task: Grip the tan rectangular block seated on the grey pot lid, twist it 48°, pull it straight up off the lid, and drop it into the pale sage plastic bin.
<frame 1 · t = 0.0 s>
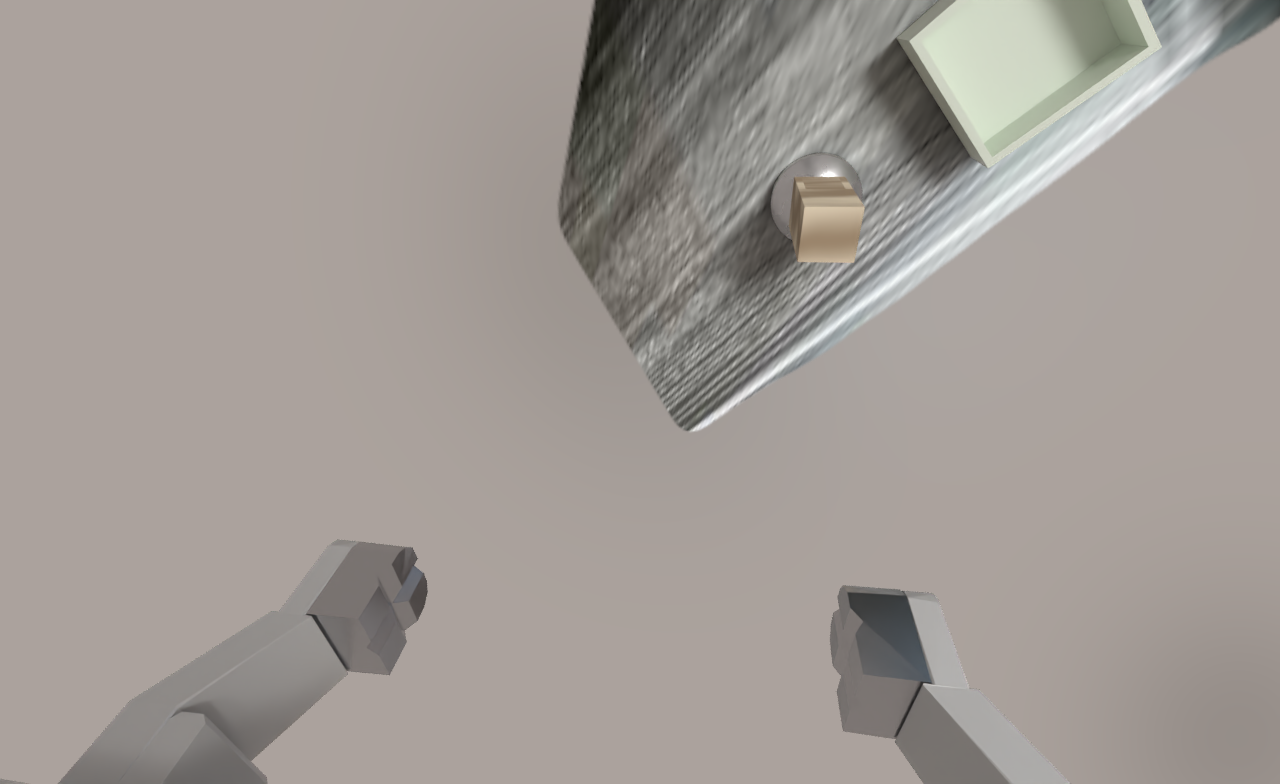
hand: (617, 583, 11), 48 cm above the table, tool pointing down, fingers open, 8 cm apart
grey pot lid: (814, 198, 52), on the table
tan rectangular block: (816, 201, 51), point 1 cm above the table, touching grey pot lid
bin: (1010, 40, 43), on the table
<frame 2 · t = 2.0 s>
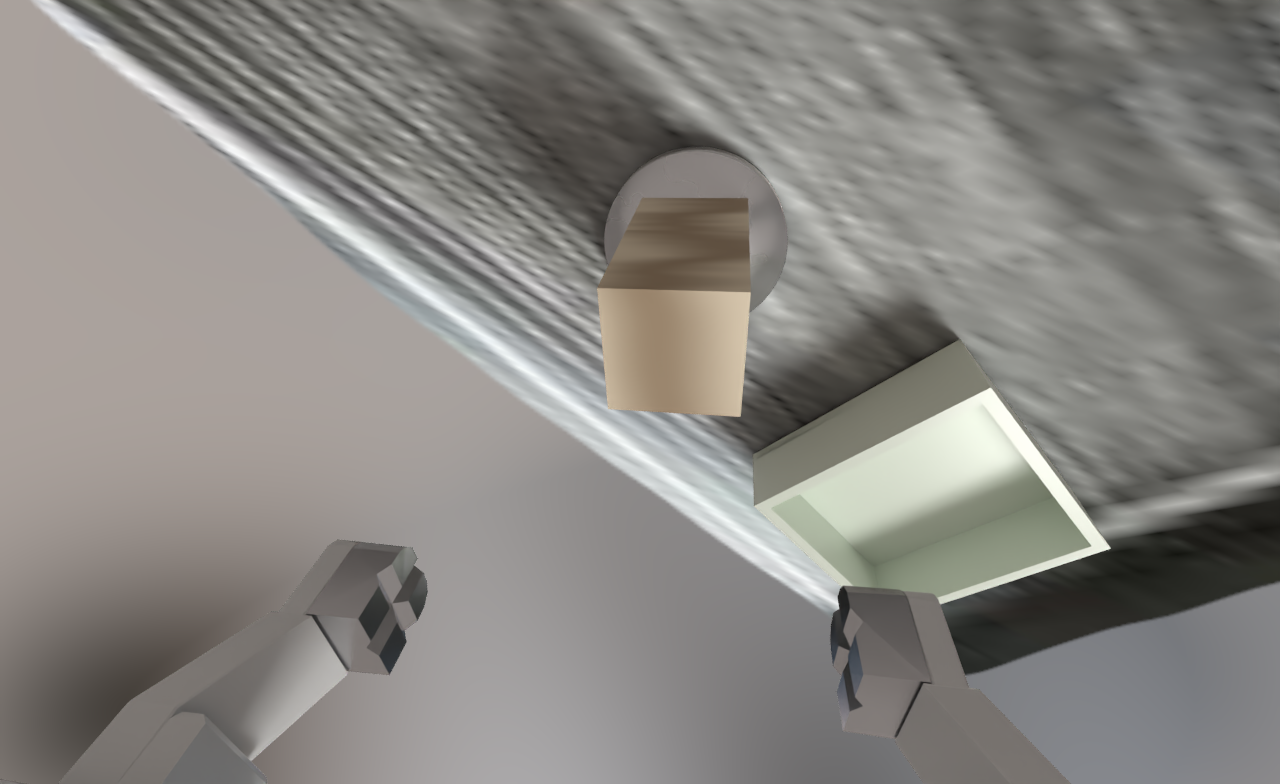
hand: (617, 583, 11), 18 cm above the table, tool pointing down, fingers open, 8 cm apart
grey pot lid: (695, 240, 25), on the table
tan rectangular block: (693, 248, 24), point 1 cm above the table, touching grey pot lid
bin: (907, 471, 31), on the table
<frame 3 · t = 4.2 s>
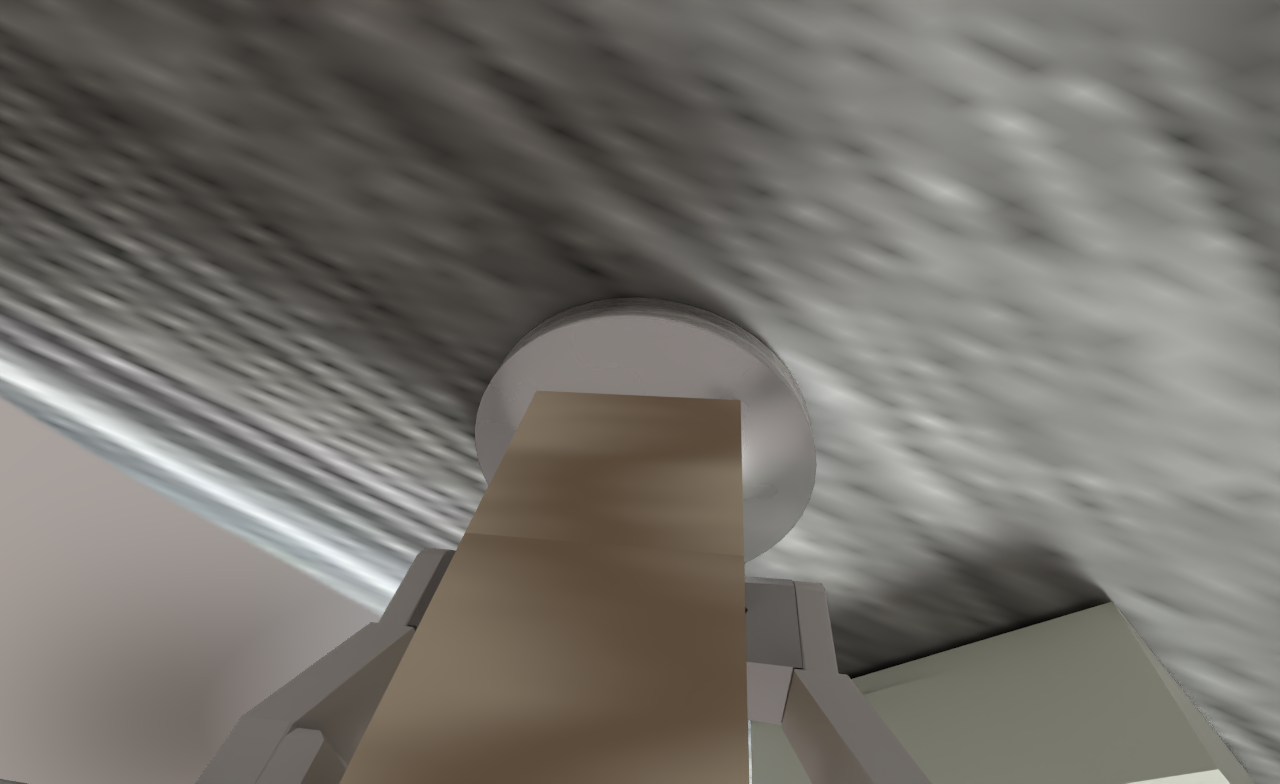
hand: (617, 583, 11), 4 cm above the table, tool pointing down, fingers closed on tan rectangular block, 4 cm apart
grey pot lid: (645, 443, 14), on the table
tan rectangular block: (639, 471, 13), point 1 cm above the table, touching grey pot lid, gripper
bin: (992, 744, 20), on the table
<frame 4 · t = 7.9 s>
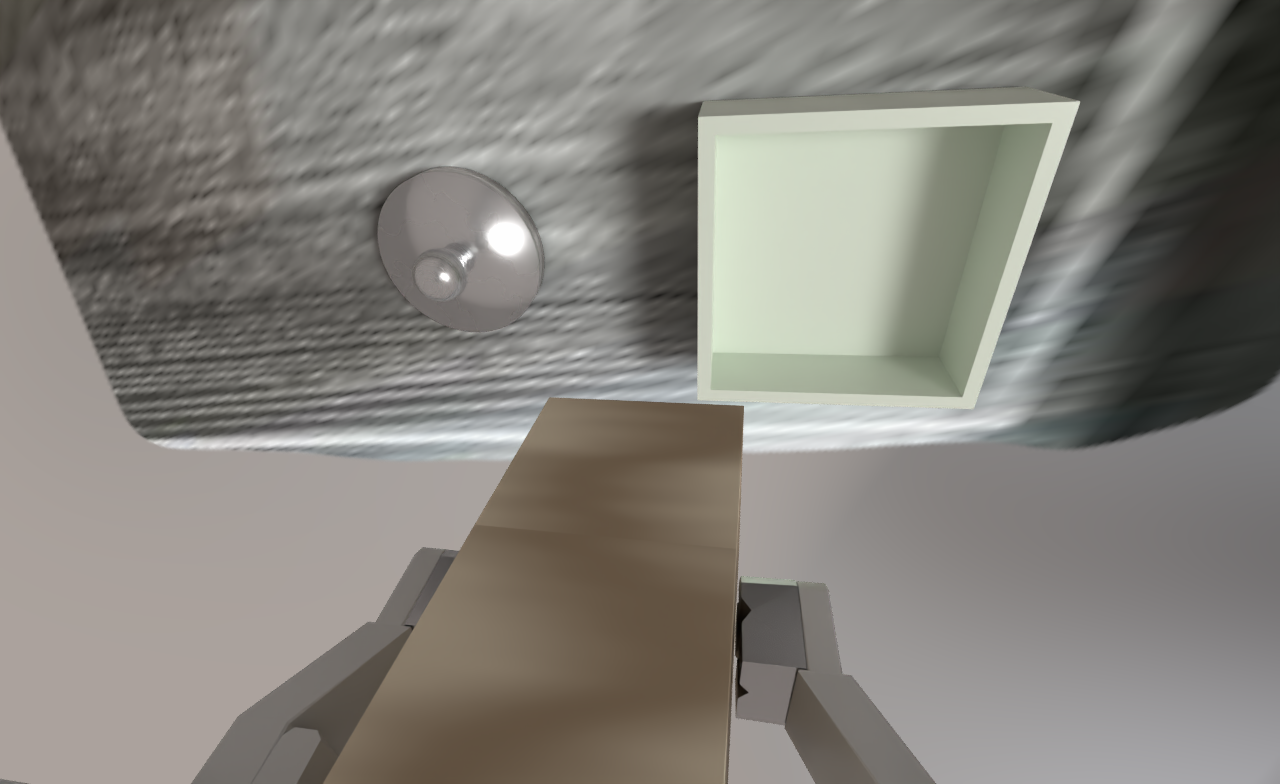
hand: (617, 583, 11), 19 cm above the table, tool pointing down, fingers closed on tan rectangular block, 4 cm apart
grey pot lid: (466, 251, 28), on the table
tan rectangular block: (649, 477, 14), point 15 cm above the table, touching gripper
bin: (836, 244, 25), on the table
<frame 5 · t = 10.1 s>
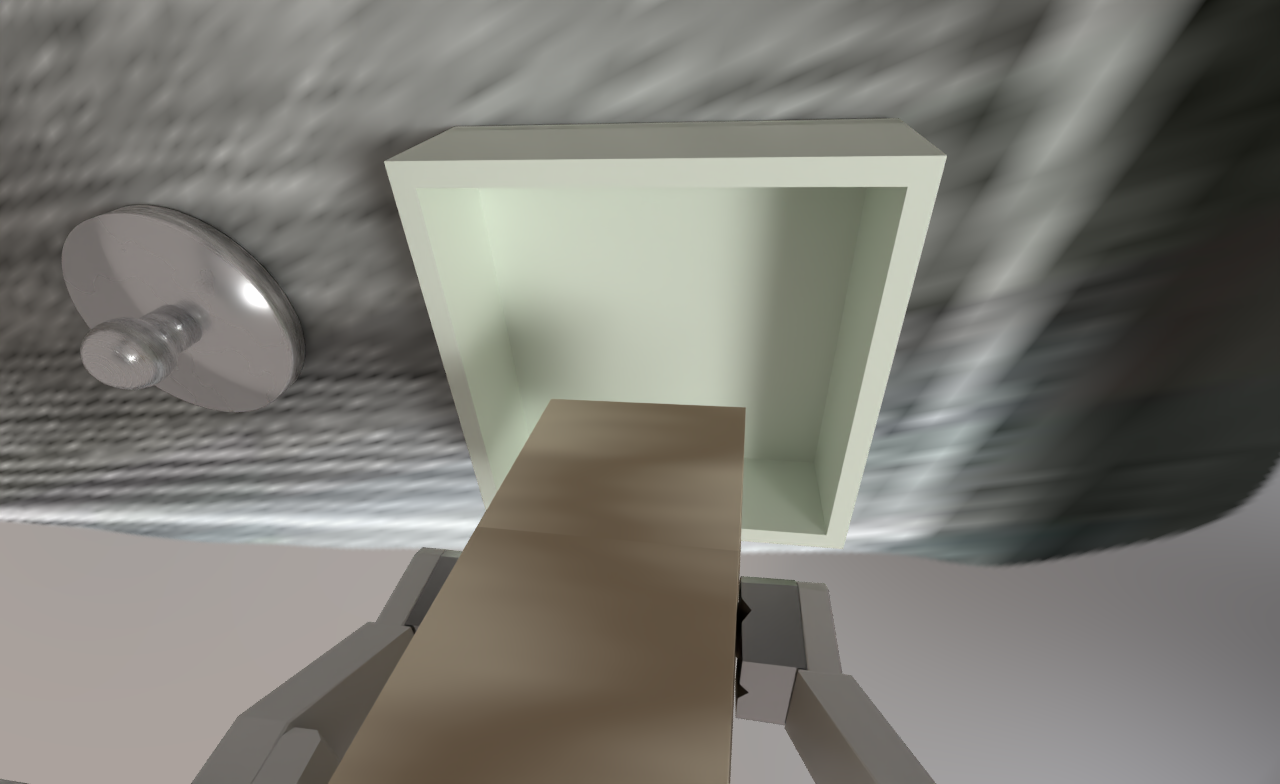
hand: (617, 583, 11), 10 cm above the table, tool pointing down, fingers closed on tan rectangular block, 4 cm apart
grey pot lid: (200, 311, 21), on the table
tan rectangular block: (651, 478, 14), point 7 cm above the table, touching gripper
bin: (667, 320, 18), on the table
when the fingers open (6 cm above the table, at t = 11.7 s): tan rectangular block drops 2 cm, resting on bin.
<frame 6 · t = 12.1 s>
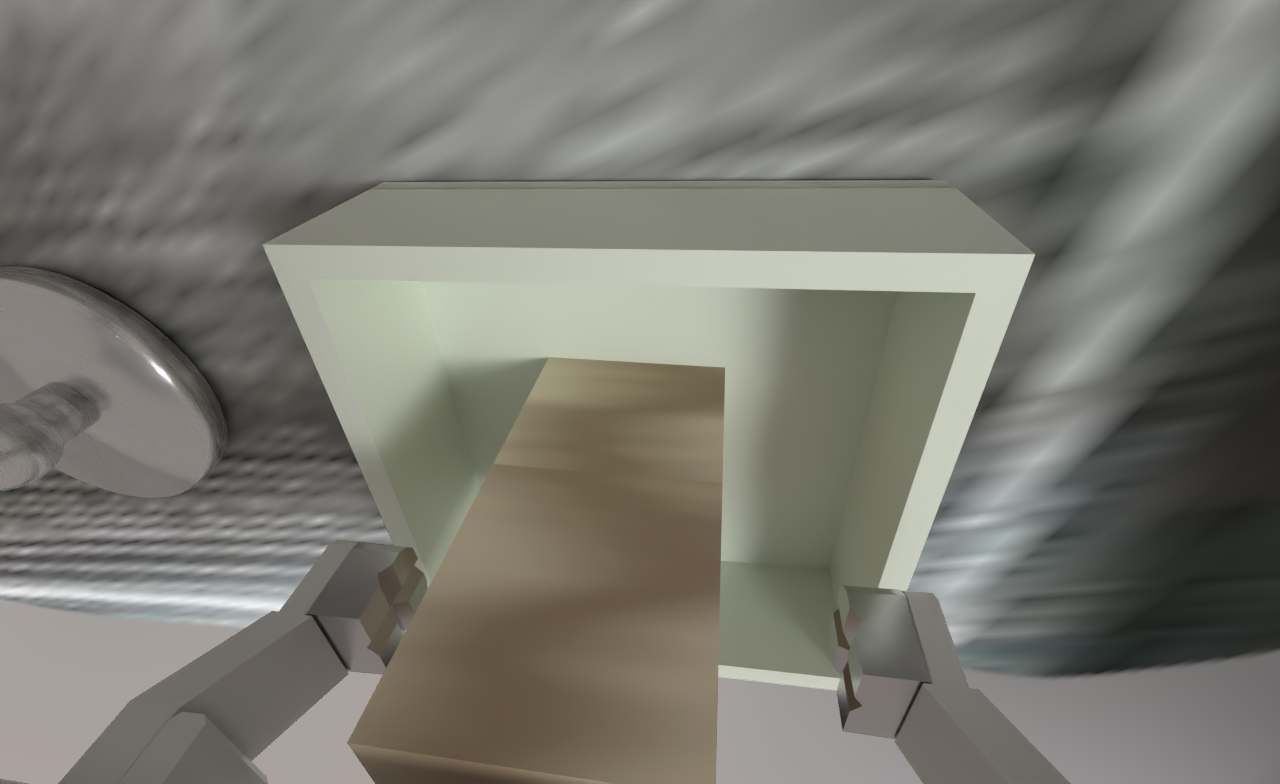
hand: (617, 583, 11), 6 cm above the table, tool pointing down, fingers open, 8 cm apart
grey pot lid: (101, 385, 18), on the table
tan rectangular block: (637, 431, 15), point 1 cm above the table, touching bin
bin: (652, 408, 15), on the table
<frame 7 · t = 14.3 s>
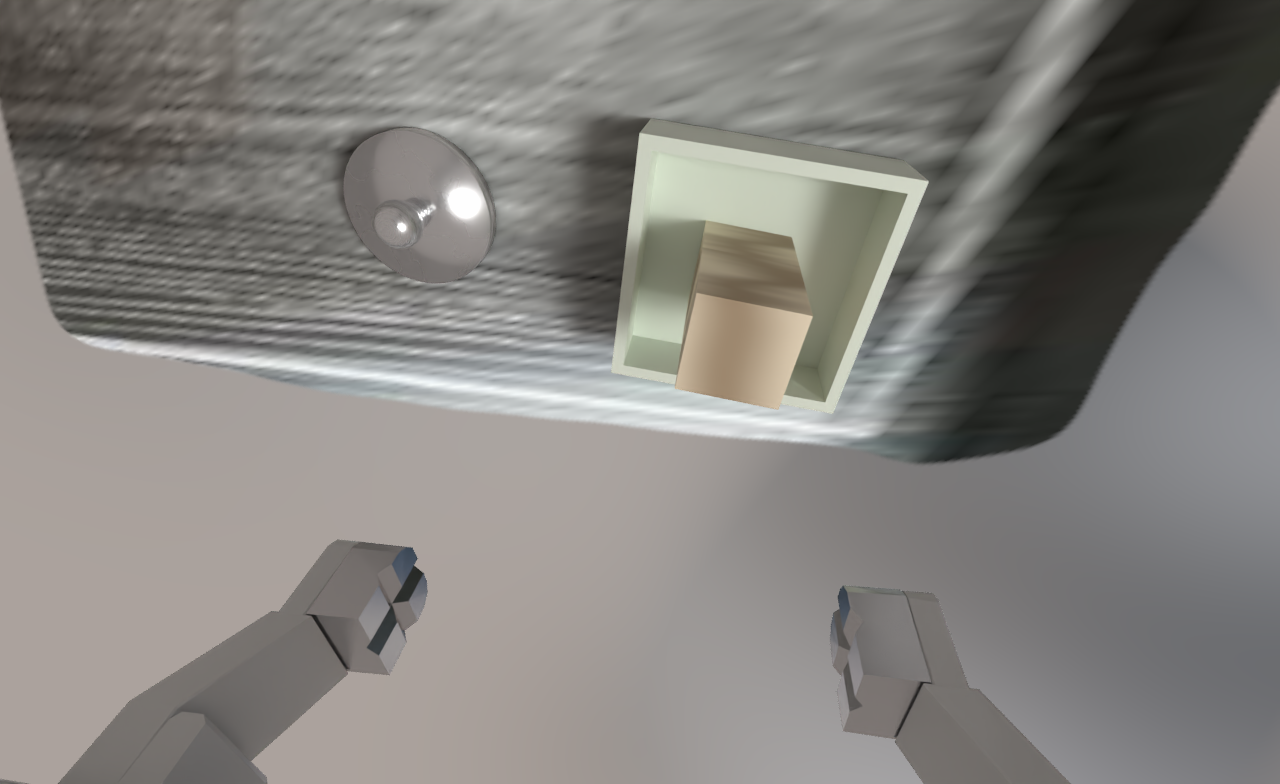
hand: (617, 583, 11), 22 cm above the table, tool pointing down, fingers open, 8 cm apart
grey pot lid: (425, 207, 30), on the table
tan rectangular block: (737, 269, 29), point 1 cm above the table, touching bin
bin: (746, 259, 30), on the table
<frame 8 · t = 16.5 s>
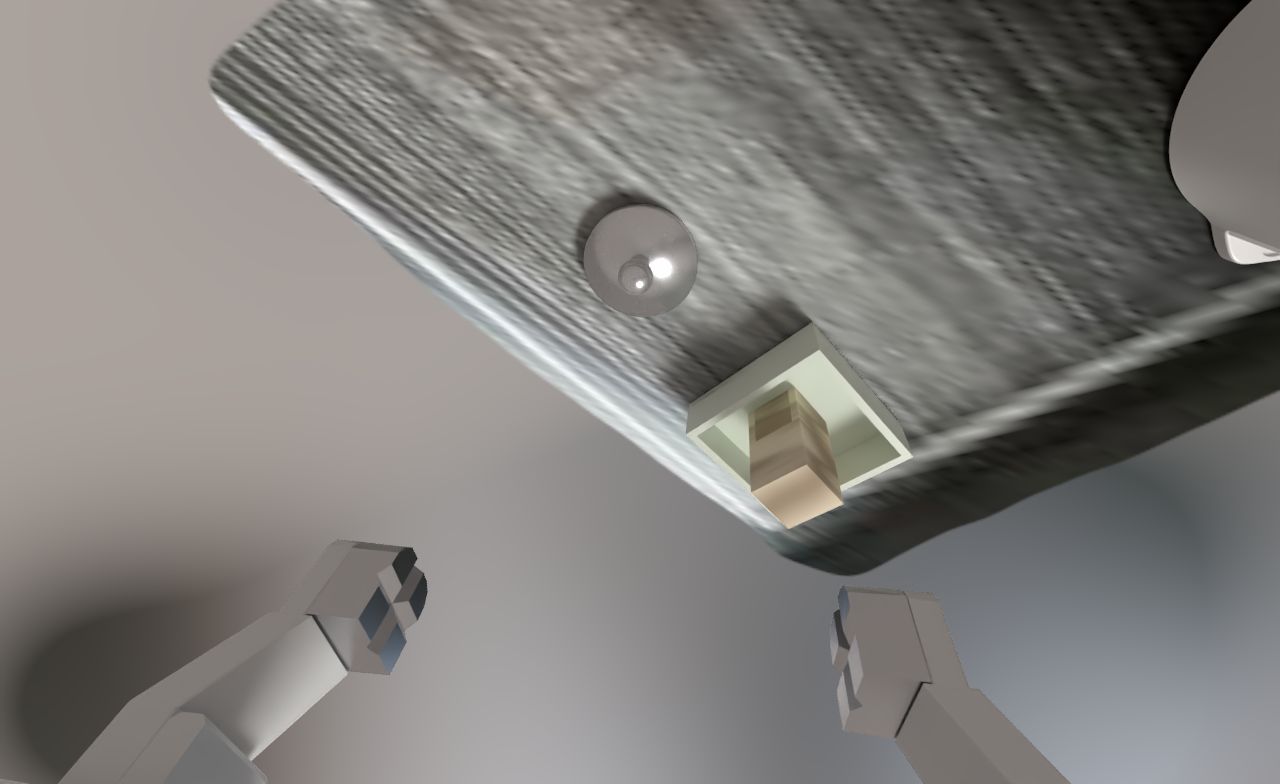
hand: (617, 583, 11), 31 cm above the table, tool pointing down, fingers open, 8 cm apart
grey pot lid: (641, 260, 40), on the table
tan rectangular block: (786, 417, 45), point 1 cm above the table, touching bin
bin: (792, 413, 46), on the table
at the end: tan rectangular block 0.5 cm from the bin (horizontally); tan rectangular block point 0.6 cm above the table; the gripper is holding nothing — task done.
